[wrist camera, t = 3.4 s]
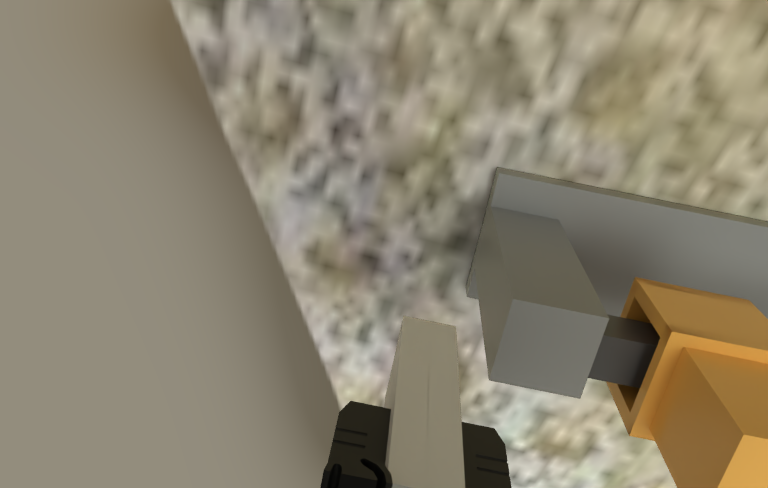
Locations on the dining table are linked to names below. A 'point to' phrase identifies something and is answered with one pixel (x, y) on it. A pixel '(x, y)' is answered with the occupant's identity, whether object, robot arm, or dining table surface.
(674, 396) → the sleeve
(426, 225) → the dining table surface
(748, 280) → the linear slide rail
